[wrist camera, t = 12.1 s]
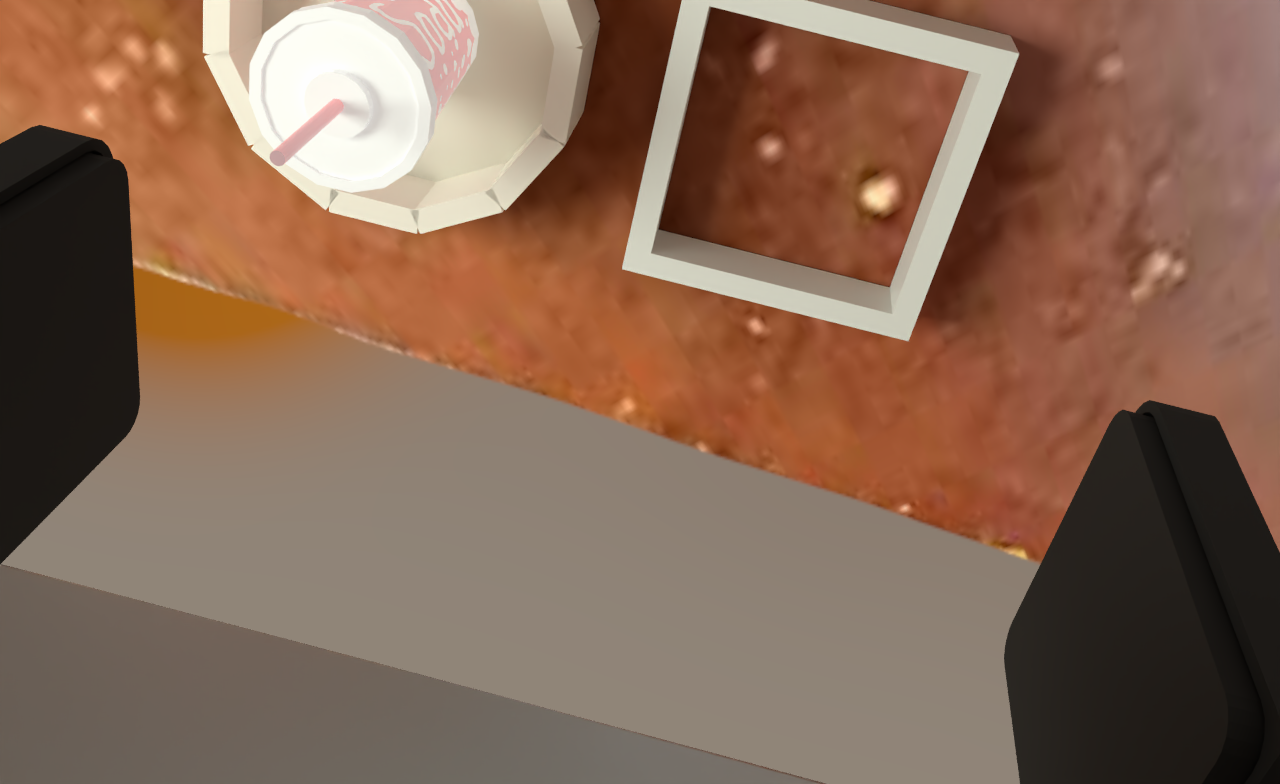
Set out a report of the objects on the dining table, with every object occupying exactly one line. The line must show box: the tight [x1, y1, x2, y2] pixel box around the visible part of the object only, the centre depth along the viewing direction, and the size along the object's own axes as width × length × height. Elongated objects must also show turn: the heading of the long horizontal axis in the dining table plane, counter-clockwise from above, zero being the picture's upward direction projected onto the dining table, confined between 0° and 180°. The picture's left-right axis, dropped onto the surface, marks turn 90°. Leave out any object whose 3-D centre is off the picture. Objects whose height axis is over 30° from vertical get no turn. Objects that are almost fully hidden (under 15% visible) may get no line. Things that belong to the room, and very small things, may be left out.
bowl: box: [203, 0, 600, 234], centre depth 45 cm, size 14×14×4 cm
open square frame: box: [622, 0, 1019, 341], centre depth 46 cm, size 12×12×2 cm
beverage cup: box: [249, 0, 479, 193], centre depth 40 cm, size 6×6×14 cm
